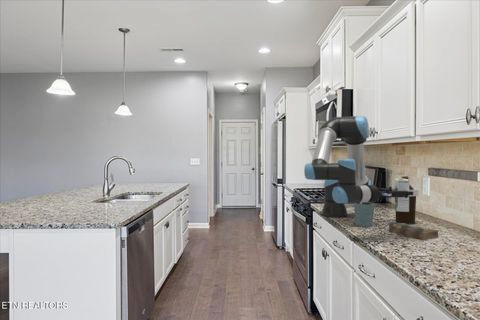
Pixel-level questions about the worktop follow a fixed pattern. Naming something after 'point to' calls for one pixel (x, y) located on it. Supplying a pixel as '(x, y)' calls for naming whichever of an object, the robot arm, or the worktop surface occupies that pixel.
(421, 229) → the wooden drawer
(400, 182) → the syrup box
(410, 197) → the olive oil
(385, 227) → the worktop surface
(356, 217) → the grey-green tapered bin
